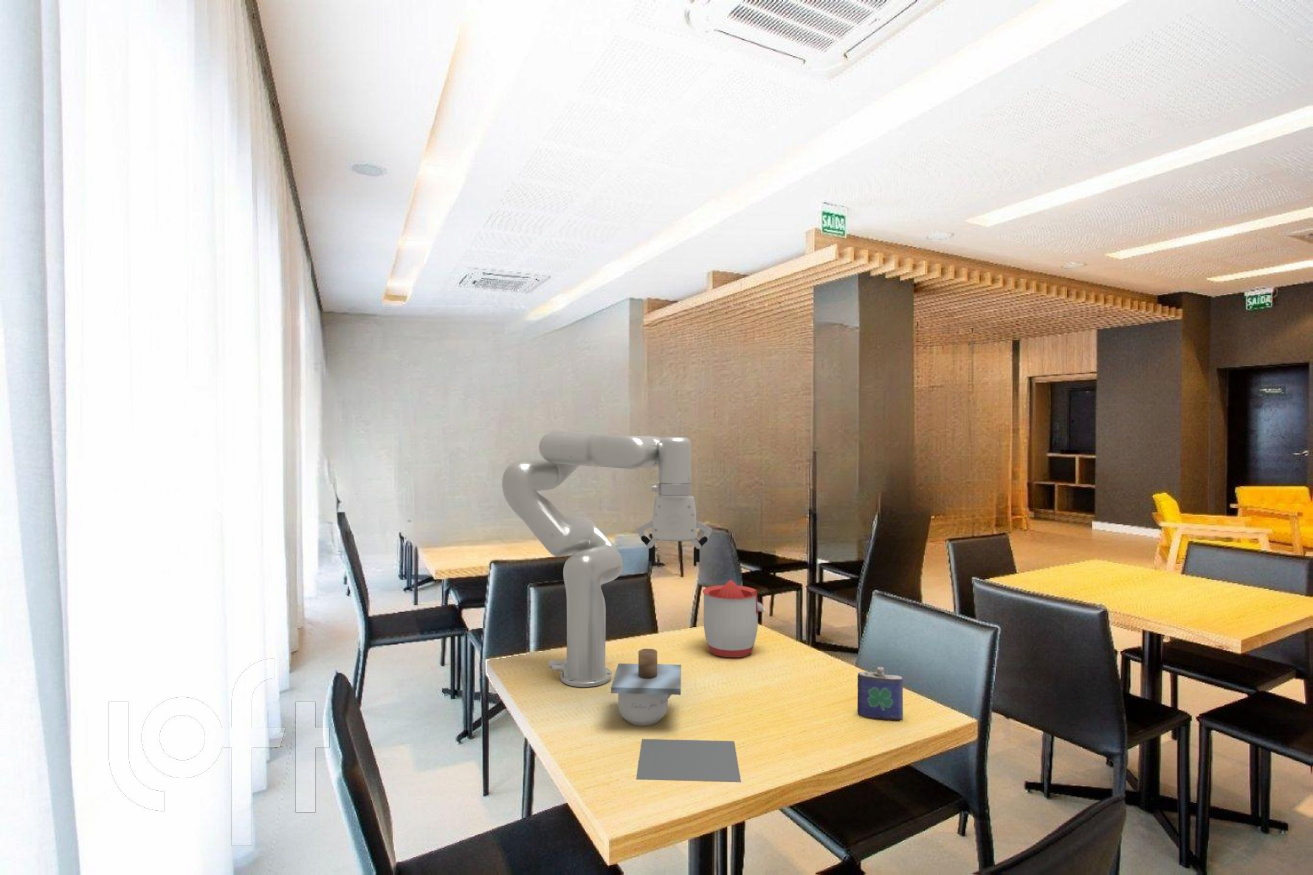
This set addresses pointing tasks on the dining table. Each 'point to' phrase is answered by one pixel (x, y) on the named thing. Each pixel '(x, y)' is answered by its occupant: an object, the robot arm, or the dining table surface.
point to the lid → (647, 676)
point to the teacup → (643, 707)
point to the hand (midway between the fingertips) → (674, 564)
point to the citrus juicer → (731, 619)
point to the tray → (688, 760)
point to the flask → (880, 695)
